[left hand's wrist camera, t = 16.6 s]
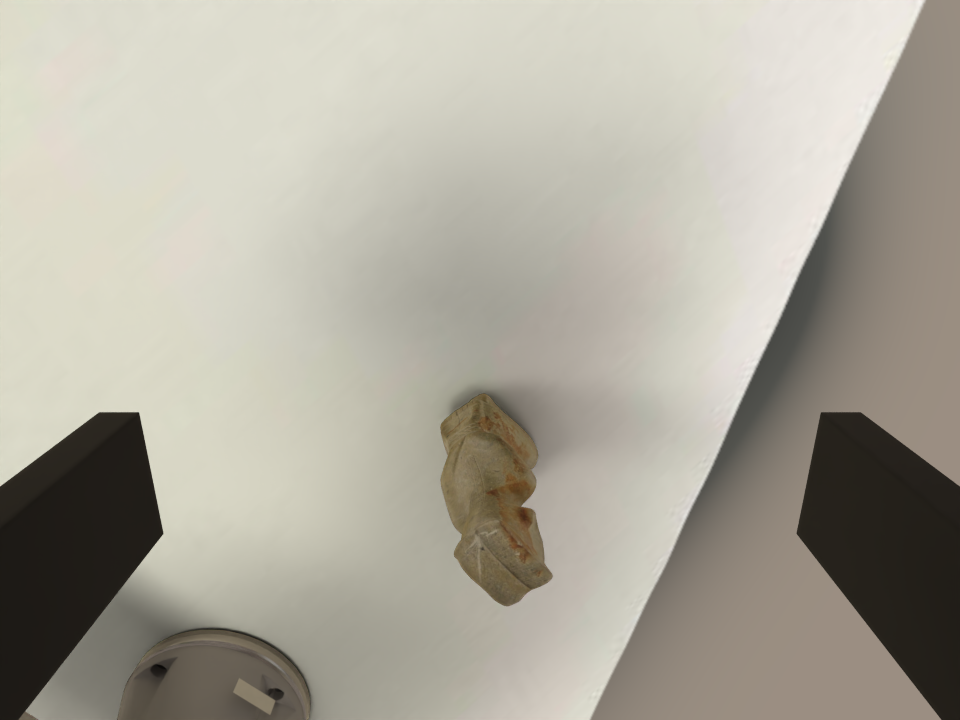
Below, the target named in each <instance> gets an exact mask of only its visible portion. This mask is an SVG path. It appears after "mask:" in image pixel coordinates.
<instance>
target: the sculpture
mask: <svg viewBox="0 0 960 720" xmlns="http://www.w3.org/2000/svg"><path fill="white" fill-rule="evenodd" d="M440 428H441V435H442V438H443V442H444V446H445V449H446V452H447V454H448V457H447V460H446V463H445V466H444V469H443V472H442V476H441V487H442V491H443V494H444V498H445V502H446V505H447V508H448V512H449V515H450V518H451V521H452V523H453V525H454V527H455V528H456V529H457V530H458V531H459V532H460V533H461V534H462V538H461V541H460V542H459V543H458V545H457V547H456V549H455V551H454V557H455V558H456V559H457V560H458V562H459V563H460V565H461V567H462V568H463V570H464V571H465V572H466V573H467V575H468V576H469V577H470V578H471V579H472V580H474V581H475V582H476V583H477V584H478V585H479V586H480V587H482V588H483V589H484V590H485V591H486V592H487V593H488V594H489V595H490V596H491V597H492V598H493V599H494V600H495V601H497V602H498V603H500V604H502V605H504V606H510V605H513V604H515V603H517V602H519V601H520V600H521V599H522V598H523V597H524V595H525V594H526V593H527V592H529V591H531V590H533V589H535V588H538V587H540V586H542V585H544V584H546V583H548V582H549V581H550V580H551V579H552V576H553V575H552V573H551V572H550V571H549V569H548V568H547V567H546V565H545V563H544V549H543V542H542V539H541V536H540V532H539V529H538V525H537V520H536V514H535V512H534V510H532V509H529V508H524V507H521V506H522V504H523V503H524V502H525V501H526V500H527V499H528V498H529V497H530V496H531V495H532V493H533V492H534V490H535V488H536V478H535V476H534V474H533V472H532V471H531V469H532V468H533V467H534V466H535V465H536V462H537V459H538V451H537V448H536V446H535V444H534V442H533V441H532V439H531V438H530V436H529V435H528V434H527V433H526V432H525V431H524V430H523V429H522V428H521V427H520V426H519V425H518V424H517V423H516V422H515V421H513V420H512V419H511V418H510V417H509V416H507V415H506V414H505V413H504V412H503V411H502V410H501V409H500V408H499V407H498V406H497V405H496V404H495V403H494V402H493V400H492V399H491V398H490V397H489V396H488V395H486V394H480V395H478V396H476V397H475V398H473V399H472V400H470V402H469V403H467V404H465V405H464V406H462V407H461V408H459V409H458V410H456V411H455V412H453V413H452V414H451V415H450V416H449V417H447V418H446V419H445V420H444V421H443V422H442V424H441V427H440Z"/></svg>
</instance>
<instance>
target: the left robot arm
mask: <svg viewBox="0 0 960 720" xmlns="http://www.w3.org/2000/svg"><path fill="white" fill-rule="evenodd" d="M162 535H163V529H162V524H161V519H160V514H159V509H158V504H157V499H156V494H155V489H154V484H153V479H152V474H151V469H150V465H149V460H148V455H147V450H146V445H145V440H144V435H143V430H142V425H141V420H140V415H139V412H99V413H98V414H96V415H95V416H94V417H92V418H91V419H90V420H88V421H87V422H86V423H84V424H83V425H82V426H80V427H79V428H78V429H76V430H75V431H74V432H72V433H71V434H70V435H68V436H67V437H66V438H64V439H63V440H62V441H60V442H59V443H58V444H56V445H55V446H54V447H52V448H51V449H50V450H48V451H47V452H46V453H44V454H43V455H42V456H40V457H39V458H38V459H36V460H35V461H34V462H32V463H31V464H30V465H28V466H27V467H26V468H24V469H23V470H22V471H20V472H19V473H18V474H16V475H15V476H14V477H12V478H11V479H10V480H8V481H7V482H6V483H4V484H3V485H2V486H0V720H38V719H36V718H35V717H33V716H31V715H30V714H28V713H27V712H25V711H26V709H27V708H28V707H29V706H30V704H31V703H32V702H33V700H34V699H35V698H36V697H37V695H38V694H39V693H40V691H41V690H42V689H43V688H44V686H45V685H46V684H47V682H48V681H49V680H50V679H51V677H52V676H53V675H54V673H55V672H56V671H57V670H58V668H59V667H60V666H61V664H62V663H63V662H64V661H65V659H66V658H67V657H68V655H69V654H70V653H71V652H72V650H73V649H74V648H75V646H76V645H77V644H78V643H79V641H80V640H81V639H82V637H83V636H84V635H85V634H86V632H87V631H88V630H89V629H90V627H91V626H92V625H93V623H94V622H95V621H96V620H97V618H98V617H99V616H100V614H101V613H102V612H103V611H104V609H105V608H106V607H107V605H108V604H109V603H110V602H111V600H112V599H113V598H114V596H115V595H116V594H117V593H118V591H119V590H120V589H121V587H122V586H123V585H124V584H125V582H126V581H127V580H128V578H129V577H130V576H131V575H132V573H133V572H134V571H135V569H136V568H137V567H138V566H139V564H140V563H141V562H142V560H143V559H144V558H145V557H146V555H147V554H148V553H149V551H150V550H151V549H152V548H153V546H154V545H155V544H156V543H157V541H158V540H159V539H160V537H161V536H162ZM797 535H798V536H799V537H800V539H801V540H802V541H803V542H804V544H805V545H806V546H807V548H808V549H809V550H810V551H811V553H812V554H813V555H814V557H815V558H816V559H817V560H818V562H819V563H820V564H821V566H822V567H823V568H824V569H825V571H826V572H827V573H828V575H829V576H830V577H831V578H832V580H833V581H834V582H835V584H836V585H837V586H838V587H839V589H840V590H841V591H842V593H843V594H844V595H845V596H846V598H847V599H848V600H849V602H850V603H851V604H852V605H853V607H854V608H855V609H856V611H857V612H858V613H859V614H860V616H861V617H862V618H863V619H864V621H865V622H866V623H867V625H868V626H869V627H870V628H871V630H872V631H873V632H874V634H875V635H876V636H877V637H878V639H879V640H880V641H881V643H882V644H883V645H884V646H885V648H886V649H887V650H888V652H889V653H890V654H891V655H892V657H893V658H894V659H895V661H896V662H897V663H898V664H899V666H900V667H901V668H902V670H903V671H904V672H905V673H906V675H907V676H908V677H909V679H910V680H911V681H912V682H913V684H914V685H915V686H916V688H917V689H918V690H919V691H920V693H921V694H922V695H923V697H924V698H925V699H926V700H927V702H928V703H929V704H930V706H931V707H932V708H933V709H934V711H935V712H936V713H937V715H938V716H939V717H940V718H941V720H960V486H958V485H957V484H956V483H954V482H953V481H952V480H950V479H949V478H948V477H946V476H945V475H944V474H942V473H941V472H940V471H938V470H937V469H935V468H934V467H933V466H932V465H930V464H929V463H928V462H926V461H925V460H924V459H922V458H921V457H920V456H918V455H917V454H916V453H914V452H913V451H911V450H910V449H909V448H908V447H906V446H905V445H903V444H902V443H901V442H900V441H898V440H897V439H896V438H894V437H893V436H892V435H890V434H889V433H888V432H886V431H885V430H884V429H882V428H881V427H880V426H878V425H877V424H875V423H874V422H873V421H872V420H870V419H869V418H868V417H866V416H865V415H863V414H862V413H860V412H822V413H821V415H820V420H819V425H818V430H817V435H816V440H815V445H814V450H813V455H812V460H811V465H810V469H809V474H808V480H807V484H806V489H805V494H804V500H803V505H802V509H801V514H800V519H799V524H798V529H797ZM309 713H310V697H309V692H308V689H307V686H306V684H305V682H304V679H303V677H302V676H301V674H300V673H299V671H298V670H297V669H296V667H295V666H294V665H293V664H292V663H291V662H290V661H289V660H288V659H287V658H286V657H285V656H284V655H282V654H281V653H280V652H278V651H277V650H276V649H274V648H273V647H271V646H269V645H268V644H266V643H264V642H262V641H260V640H257V639H255V638H252V637H250V636H247V635H244V634H240V633H236V632H231V631H225V630H195V631H188V632H184V633H180V634H177V635H174V636H171V637H169V638H167V639H165V640H163V641H161V642H159V643H158V644H156V645H155V646H154V647H152V648H151V649H150V650H149V651H148V652H147V653H146V654H145V655H144V656H143V658H142V659H141V661H140V662H139V664H138V665H137V667H136V668H135V670H134V672H133V673H132V675H131V676H130V678H129V680H128V682H127V684H126V686H125V690H124V693H123V697H122V701H121V705H120V709H119V714H118V718H117V720H308V718H309Z"/></svg>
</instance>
